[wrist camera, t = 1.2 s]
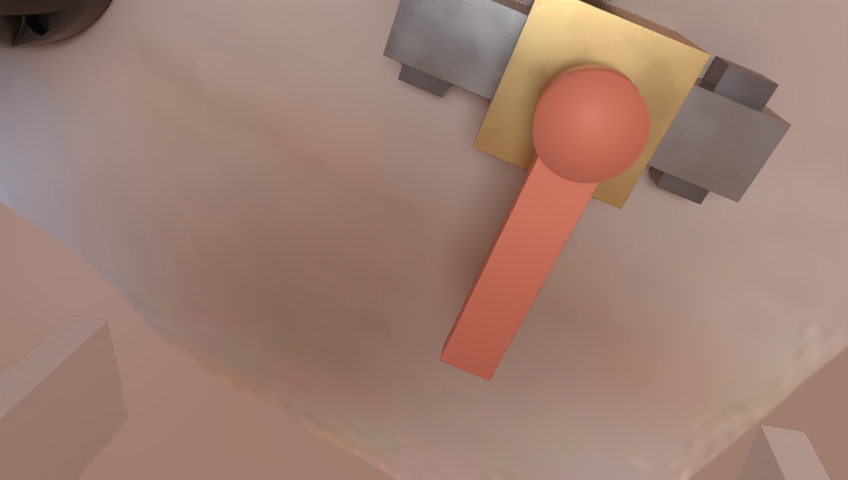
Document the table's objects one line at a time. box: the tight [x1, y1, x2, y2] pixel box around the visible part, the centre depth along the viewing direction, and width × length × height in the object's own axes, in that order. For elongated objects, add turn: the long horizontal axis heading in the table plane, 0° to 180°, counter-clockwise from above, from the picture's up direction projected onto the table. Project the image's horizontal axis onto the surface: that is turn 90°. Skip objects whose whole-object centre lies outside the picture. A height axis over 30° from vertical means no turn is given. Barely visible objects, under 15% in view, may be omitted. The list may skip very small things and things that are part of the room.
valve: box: [383, 0, 791, 209], centre depth 27 cm, size 18×7×9 cm, turn 69°
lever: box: [440, 64, 650, 381], centre depth 24 cm, size 14×4×2 cm, turn 159°
